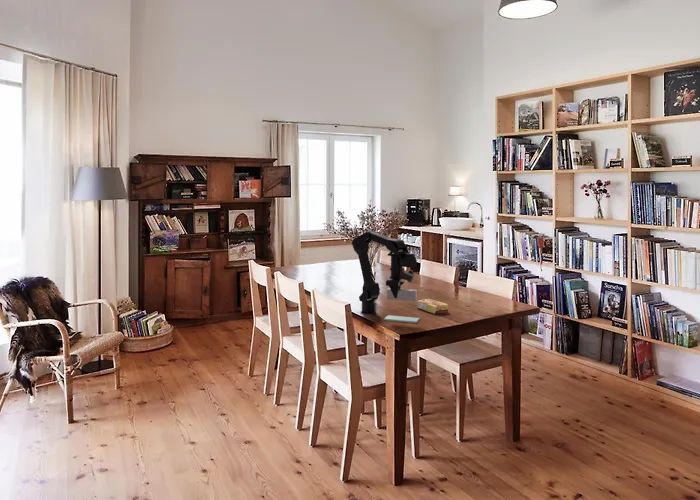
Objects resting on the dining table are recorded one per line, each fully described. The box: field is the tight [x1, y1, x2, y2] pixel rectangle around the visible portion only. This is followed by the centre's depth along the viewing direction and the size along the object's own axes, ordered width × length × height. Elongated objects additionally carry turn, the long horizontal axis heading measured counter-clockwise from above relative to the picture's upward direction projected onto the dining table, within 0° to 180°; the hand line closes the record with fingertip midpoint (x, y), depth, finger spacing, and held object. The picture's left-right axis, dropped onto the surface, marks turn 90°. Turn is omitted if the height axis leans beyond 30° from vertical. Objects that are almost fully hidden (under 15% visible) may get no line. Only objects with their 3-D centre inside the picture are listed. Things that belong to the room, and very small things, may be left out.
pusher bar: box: [386, 287, 418, 302], centre depth 263 cm, size 14×3×5 cm, turn 73°
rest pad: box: [383, 314, 421, 324], centre depth 264 cm, size 16×7×1 cm, turn 71°
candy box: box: [416, 298, 449, 315], centre depth 283 cm, size 9×4×15 cm
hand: (396, 297), depth 264 cm, fingers closed on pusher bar, 3 cm apart
